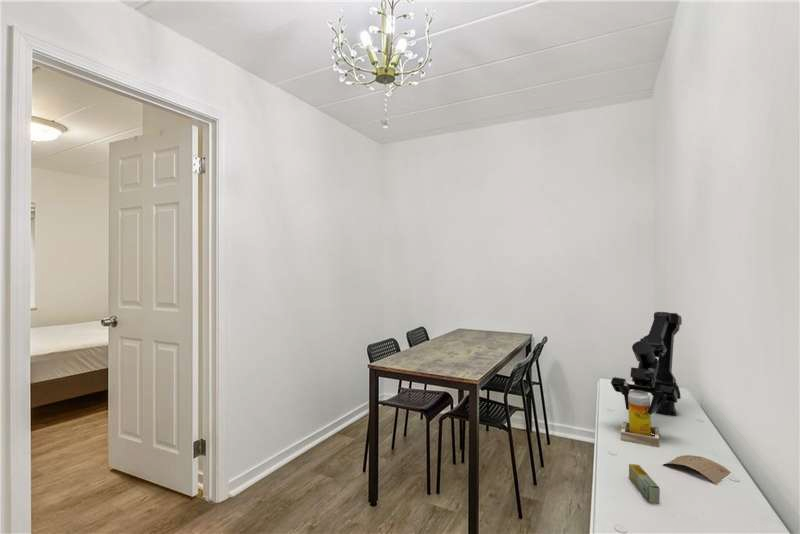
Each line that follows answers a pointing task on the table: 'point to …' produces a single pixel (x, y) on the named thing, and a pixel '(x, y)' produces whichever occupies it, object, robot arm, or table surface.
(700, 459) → the curved brown cardboard
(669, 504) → the table surface
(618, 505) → the table surface
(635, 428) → the beer can
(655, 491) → the medication box
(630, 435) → the tray
